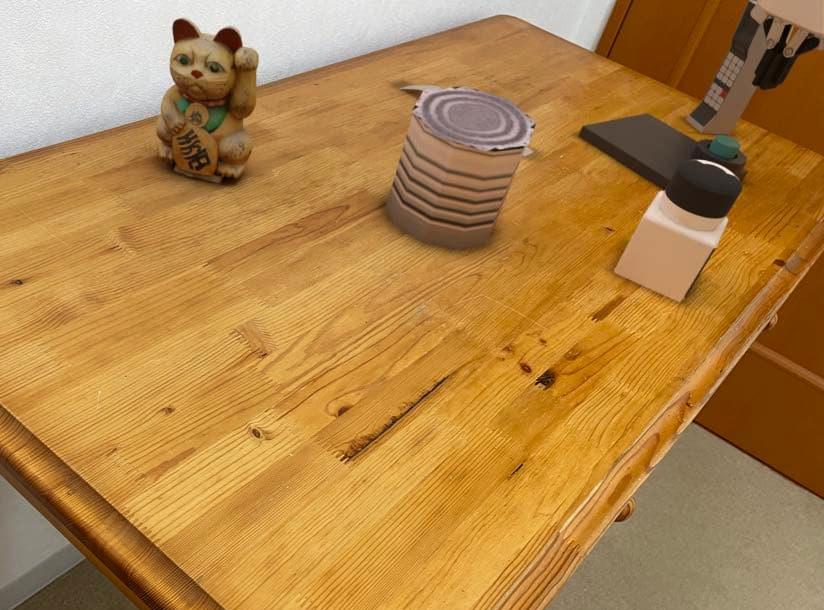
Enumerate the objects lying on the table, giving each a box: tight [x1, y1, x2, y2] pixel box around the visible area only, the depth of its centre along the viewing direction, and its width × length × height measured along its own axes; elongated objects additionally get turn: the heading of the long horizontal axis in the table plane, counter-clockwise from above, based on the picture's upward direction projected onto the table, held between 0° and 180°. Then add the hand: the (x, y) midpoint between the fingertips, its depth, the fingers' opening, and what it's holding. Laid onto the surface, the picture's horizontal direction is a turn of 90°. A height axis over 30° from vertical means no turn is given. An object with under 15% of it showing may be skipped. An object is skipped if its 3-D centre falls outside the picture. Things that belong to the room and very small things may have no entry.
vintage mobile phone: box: [685, 0, 767, 136], centre depth 110 cm, size 4×5×25 cm
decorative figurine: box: [155, 16, 260, 184], centre depth 82 cm, size 10×8×15 cm
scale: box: [577, 112, 749, 191], centre depth 107 cm, size 16×14×4 cm
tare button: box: [708, 134, 742, 159], centre depth 105 cm, size 3×3×2 cm
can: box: [385, 85, 537, 251], centre depth 83 cm, size 11×11×12 cm
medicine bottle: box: [613, 160, 743, 303], centre depth 83 cm, size 7×7×12 cm
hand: (763, 85), depth 99 cm, fingers closed
